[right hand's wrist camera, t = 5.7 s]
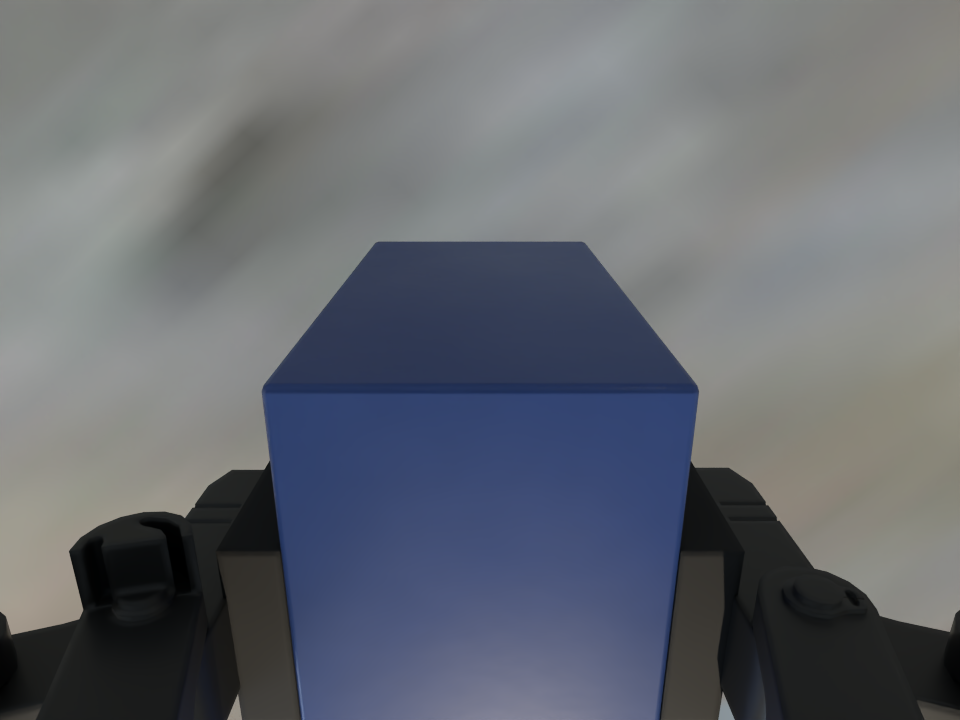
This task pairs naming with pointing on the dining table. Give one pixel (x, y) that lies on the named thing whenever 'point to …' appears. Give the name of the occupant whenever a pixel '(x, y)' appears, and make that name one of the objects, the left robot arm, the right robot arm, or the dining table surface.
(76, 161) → the dining table surface
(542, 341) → the block
